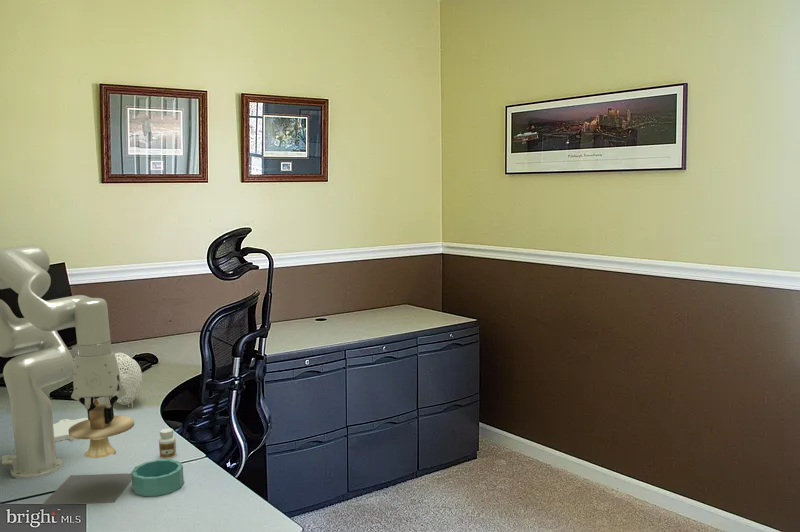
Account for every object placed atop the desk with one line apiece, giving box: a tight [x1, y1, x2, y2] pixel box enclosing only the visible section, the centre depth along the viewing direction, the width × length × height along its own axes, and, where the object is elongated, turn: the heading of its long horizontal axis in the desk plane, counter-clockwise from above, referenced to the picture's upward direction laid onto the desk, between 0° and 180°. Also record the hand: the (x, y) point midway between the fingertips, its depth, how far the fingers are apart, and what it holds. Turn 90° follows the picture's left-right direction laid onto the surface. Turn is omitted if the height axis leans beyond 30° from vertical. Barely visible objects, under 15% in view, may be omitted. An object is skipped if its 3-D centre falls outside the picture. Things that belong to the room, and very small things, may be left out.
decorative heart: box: [113, 352, 143, 409], centre depth 253 cm, size 18×11×17 cm, turn 35°
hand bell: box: [84, 398, 117, 459], centre depth 210 cm, size 8×8×16 cm
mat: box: [41, 472, 132, 506], centre depth 187 cm, size 17×17×1 cm
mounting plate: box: [53, 416, 88, 442], centre depth 229 cm, size 18×13×2 cm
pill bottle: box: [158, 427, 177, 460], centre depth 207 cm, size 4×4×8 cm
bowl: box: [130, 458, 185, 497], centre depth 187 cm, size 12×12×5 cm
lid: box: [69, 403, 135, 440], centre depth 184 cm, size 15×15×5 cm
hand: (101, 421), depth 185 cm, fingers closed on lid, 3 cm apart
